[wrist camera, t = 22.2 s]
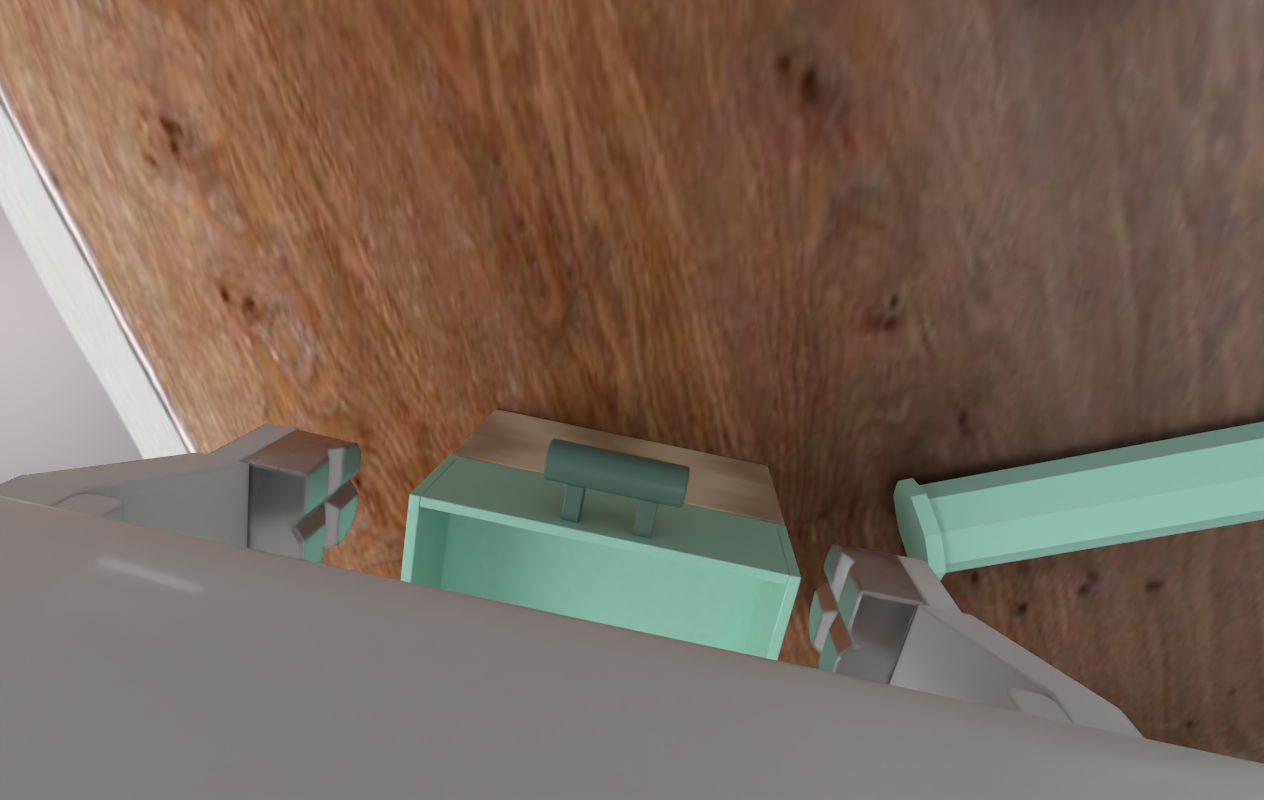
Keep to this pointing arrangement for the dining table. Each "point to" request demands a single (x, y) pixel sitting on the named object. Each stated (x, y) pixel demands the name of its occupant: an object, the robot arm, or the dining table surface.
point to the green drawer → (603, 547)
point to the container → (1085, 500)
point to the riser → (709, 476)
